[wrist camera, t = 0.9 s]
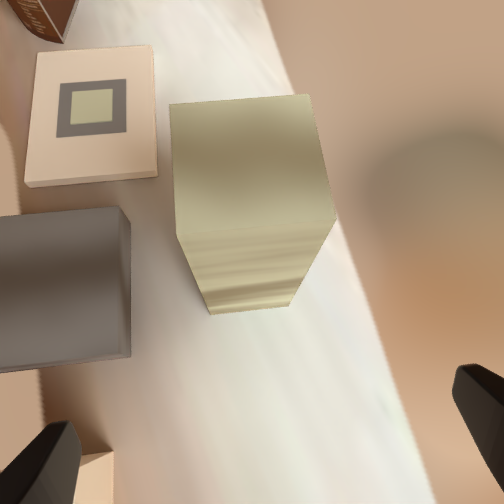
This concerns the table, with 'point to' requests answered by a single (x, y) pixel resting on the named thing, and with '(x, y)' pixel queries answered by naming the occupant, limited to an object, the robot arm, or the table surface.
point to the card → (92, 117)
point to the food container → (46, 17)
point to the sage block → (249, 198)
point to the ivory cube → (95, 479)
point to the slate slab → (64, 288)
